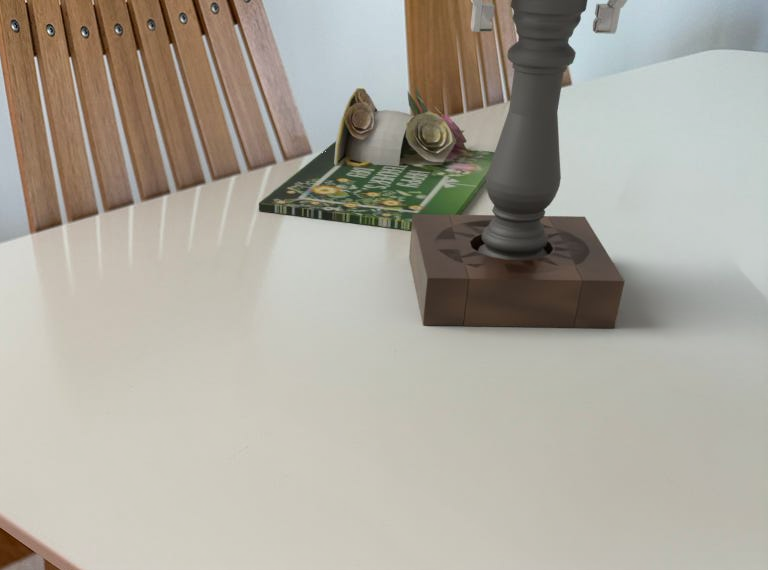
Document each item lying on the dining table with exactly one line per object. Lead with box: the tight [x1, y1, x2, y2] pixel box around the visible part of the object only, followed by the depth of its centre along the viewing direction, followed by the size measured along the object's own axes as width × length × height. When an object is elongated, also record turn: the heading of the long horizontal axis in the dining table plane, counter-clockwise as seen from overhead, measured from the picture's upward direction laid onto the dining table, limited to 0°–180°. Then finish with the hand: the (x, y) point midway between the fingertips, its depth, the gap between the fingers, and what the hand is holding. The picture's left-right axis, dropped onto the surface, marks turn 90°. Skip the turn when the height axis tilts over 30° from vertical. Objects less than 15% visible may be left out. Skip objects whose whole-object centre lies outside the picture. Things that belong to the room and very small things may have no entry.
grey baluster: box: [477, 0, 588, 260], centre depth 85 cm, size 6×6×25 cm
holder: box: [408, 214, 625, 329], centre depth 92 cm, size 16×16×4 cm
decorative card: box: [258, 84, 495, 231], centre depth 116 cm, size 33×8×20 cm
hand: (542, 31), depth 80 cm, fingers open, 8 cm apart
